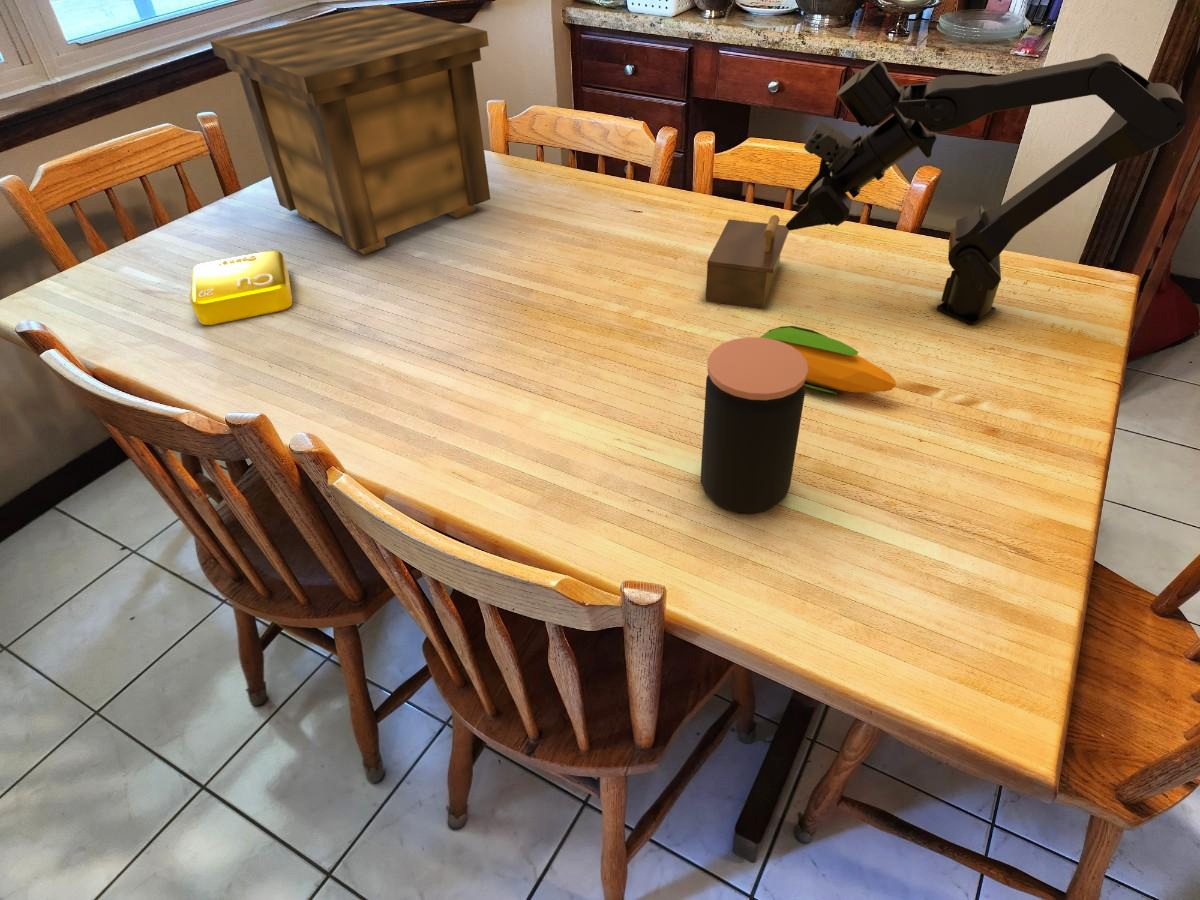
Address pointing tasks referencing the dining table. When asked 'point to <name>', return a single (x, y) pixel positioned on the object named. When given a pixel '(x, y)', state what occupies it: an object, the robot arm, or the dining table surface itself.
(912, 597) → the dining table surface
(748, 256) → the brown box lid
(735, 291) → the brown wooden box
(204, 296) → the element tile
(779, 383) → the coffee jar
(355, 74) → the crate
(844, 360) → the corn
